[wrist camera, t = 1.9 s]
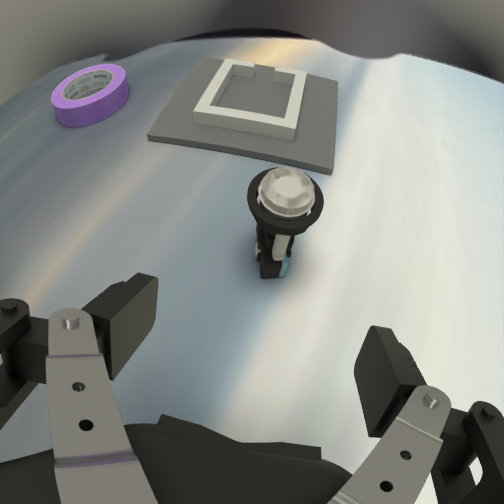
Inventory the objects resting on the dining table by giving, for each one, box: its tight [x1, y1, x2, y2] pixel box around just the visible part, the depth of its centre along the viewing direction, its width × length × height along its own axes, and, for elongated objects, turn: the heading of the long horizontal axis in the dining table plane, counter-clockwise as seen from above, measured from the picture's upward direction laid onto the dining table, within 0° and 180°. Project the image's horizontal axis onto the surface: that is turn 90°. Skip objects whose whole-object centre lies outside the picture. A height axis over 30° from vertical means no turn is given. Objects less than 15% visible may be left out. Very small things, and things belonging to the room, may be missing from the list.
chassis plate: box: [147, 58, 338, 175], centre depth 39 cm, size 22×20×3 cm
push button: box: [247, 167, 324, 278], centre depth 26 cm, size 7×5×10 cm
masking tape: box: [51, 64, 129, 127], centre depth 39 cm, size 12×12×4 cm
